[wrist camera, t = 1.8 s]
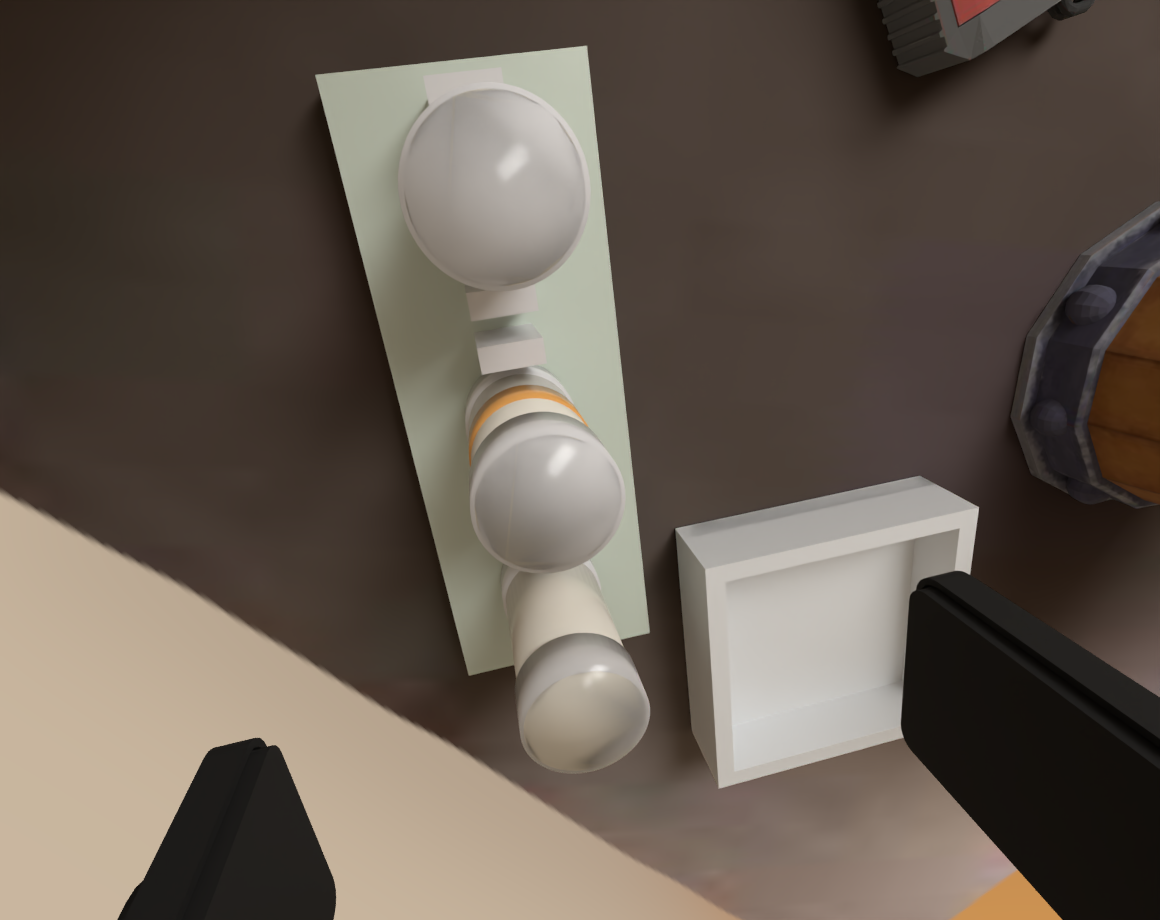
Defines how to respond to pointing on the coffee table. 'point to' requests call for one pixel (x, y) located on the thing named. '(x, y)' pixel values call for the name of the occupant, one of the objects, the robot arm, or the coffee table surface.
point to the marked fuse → (538, 474)
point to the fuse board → (484, 325)
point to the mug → (1098, 373)
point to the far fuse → (571, 671)
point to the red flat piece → (960, 27)
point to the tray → (809, 621)
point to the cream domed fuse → (494, 186)
